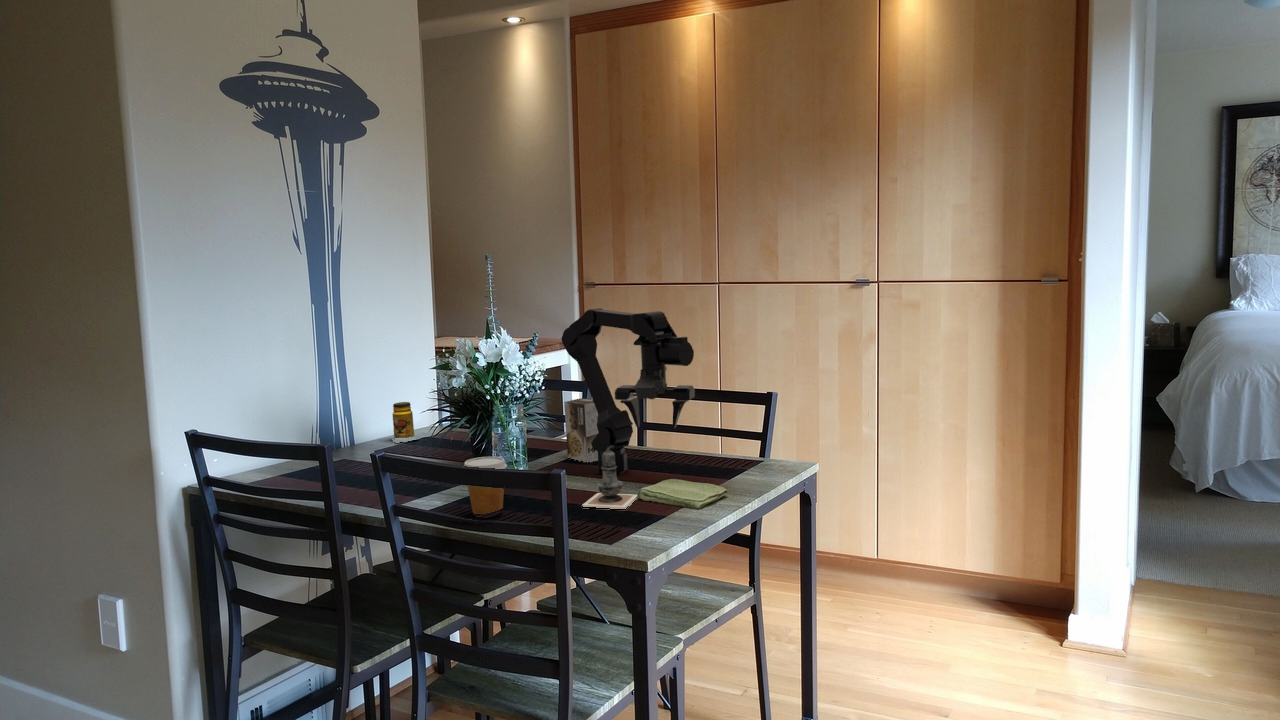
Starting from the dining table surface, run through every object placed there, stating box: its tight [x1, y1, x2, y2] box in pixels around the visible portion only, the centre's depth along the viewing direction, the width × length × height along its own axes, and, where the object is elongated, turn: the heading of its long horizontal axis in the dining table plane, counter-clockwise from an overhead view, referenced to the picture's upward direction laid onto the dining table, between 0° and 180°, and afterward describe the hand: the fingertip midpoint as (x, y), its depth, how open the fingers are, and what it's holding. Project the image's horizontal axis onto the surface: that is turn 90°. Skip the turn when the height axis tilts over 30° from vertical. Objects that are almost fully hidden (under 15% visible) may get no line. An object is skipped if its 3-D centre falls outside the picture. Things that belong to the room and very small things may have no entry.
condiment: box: [392, 401, 415, 439], centre depth 283 cm, size 7×8×12 cm
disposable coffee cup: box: [463, 456, 508, 514], centre depth 198 cm, size 10×10×12 cm
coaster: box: [581, 492, 639, 510], centre depth 204 cm, size 10×10×1 cm
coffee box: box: [563, 398, 599, 464], centre depth 247 cm, size 9×6×16 cm
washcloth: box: [636, 478, 729, 510], centre depth 205 cm, size 13×18×3 cm
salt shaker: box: [596, 447, 624, 503], centre depth 203 cm, size 6×6×12 cm
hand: (656, 427), depth 220 cm, fingers open, 9 cm apart
